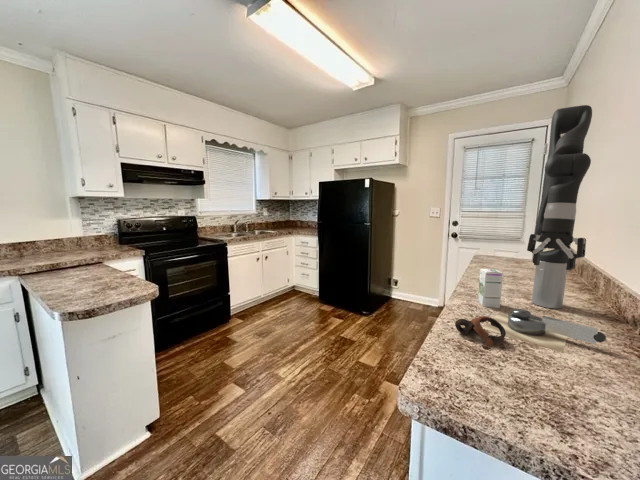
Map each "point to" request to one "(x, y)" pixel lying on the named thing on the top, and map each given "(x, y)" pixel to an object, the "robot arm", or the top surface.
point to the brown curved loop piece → (482, 330)
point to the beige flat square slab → (546, 340)
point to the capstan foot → (552, 327)
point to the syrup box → (490, 288)
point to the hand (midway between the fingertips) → (551, 267)
